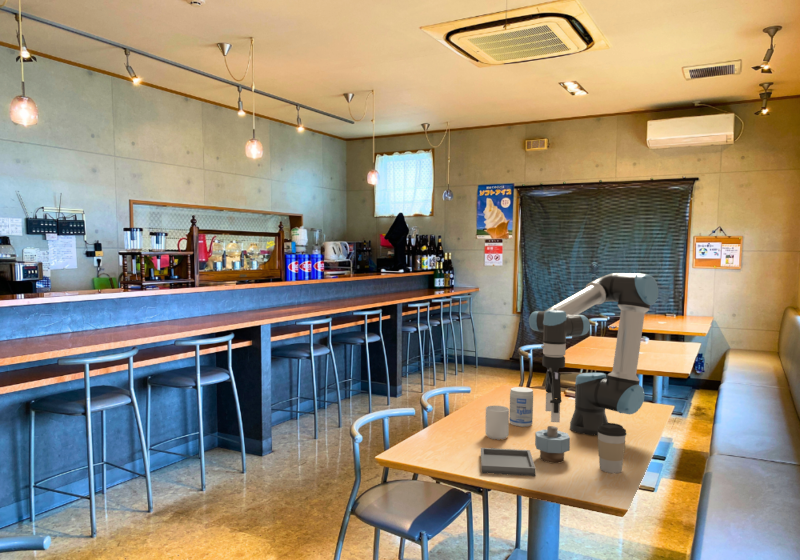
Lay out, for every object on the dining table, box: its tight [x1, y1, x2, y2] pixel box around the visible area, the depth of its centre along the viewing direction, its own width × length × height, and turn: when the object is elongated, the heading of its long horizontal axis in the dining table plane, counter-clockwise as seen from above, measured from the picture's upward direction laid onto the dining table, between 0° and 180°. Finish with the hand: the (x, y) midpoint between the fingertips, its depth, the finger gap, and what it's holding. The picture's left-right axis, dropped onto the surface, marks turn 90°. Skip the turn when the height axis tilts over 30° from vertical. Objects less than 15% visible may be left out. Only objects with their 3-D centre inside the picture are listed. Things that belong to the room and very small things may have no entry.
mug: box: [485, 405, 510, 441], centre depth 219 cm, size 12×9×11 cm
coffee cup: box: [597, 422, 627, 474], centre depth 185 cm, size 9×9×15 cm
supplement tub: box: [509, 386, 534, 428], centre depth 235 cm, size 10×10×15 cm
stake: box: [539, 425, 565, 464], centre depth 194 cm, size 8×8×11 cm
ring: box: [534, 429, 571, 454], centre depth 194 cm, size 11×11×4 cm
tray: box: [480, 447, 536, 477], centre depth 188 cm, size 17×17×2 cm
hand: (552, 416), depth 194 cm, fingers open, 13 cm apart
